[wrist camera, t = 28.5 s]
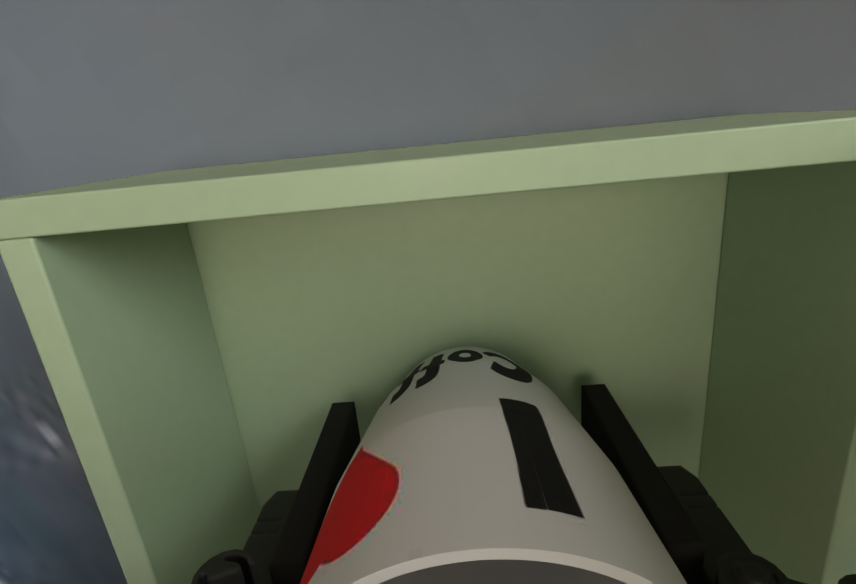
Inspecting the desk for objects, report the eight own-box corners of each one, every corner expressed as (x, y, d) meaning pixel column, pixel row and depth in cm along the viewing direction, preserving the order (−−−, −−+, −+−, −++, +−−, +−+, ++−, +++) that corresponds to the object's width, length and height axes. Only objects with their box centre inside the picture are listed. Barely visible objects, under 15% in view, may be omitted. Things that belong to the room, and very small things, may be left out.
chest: (273, 593, 22) (204, 787, 16) (162, 170, 16) (-22, 201, 10) (696, 572, 21) (810, 768, 15) (745, 113, 15) (972, 105, 9)
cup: (544, 273, 16) (693, 485, 7) (604, 467, 18) (776, 827, 9) (320, 349, 17) (171, 624, 8) (403, 523, 20) (369, 897, 10)
